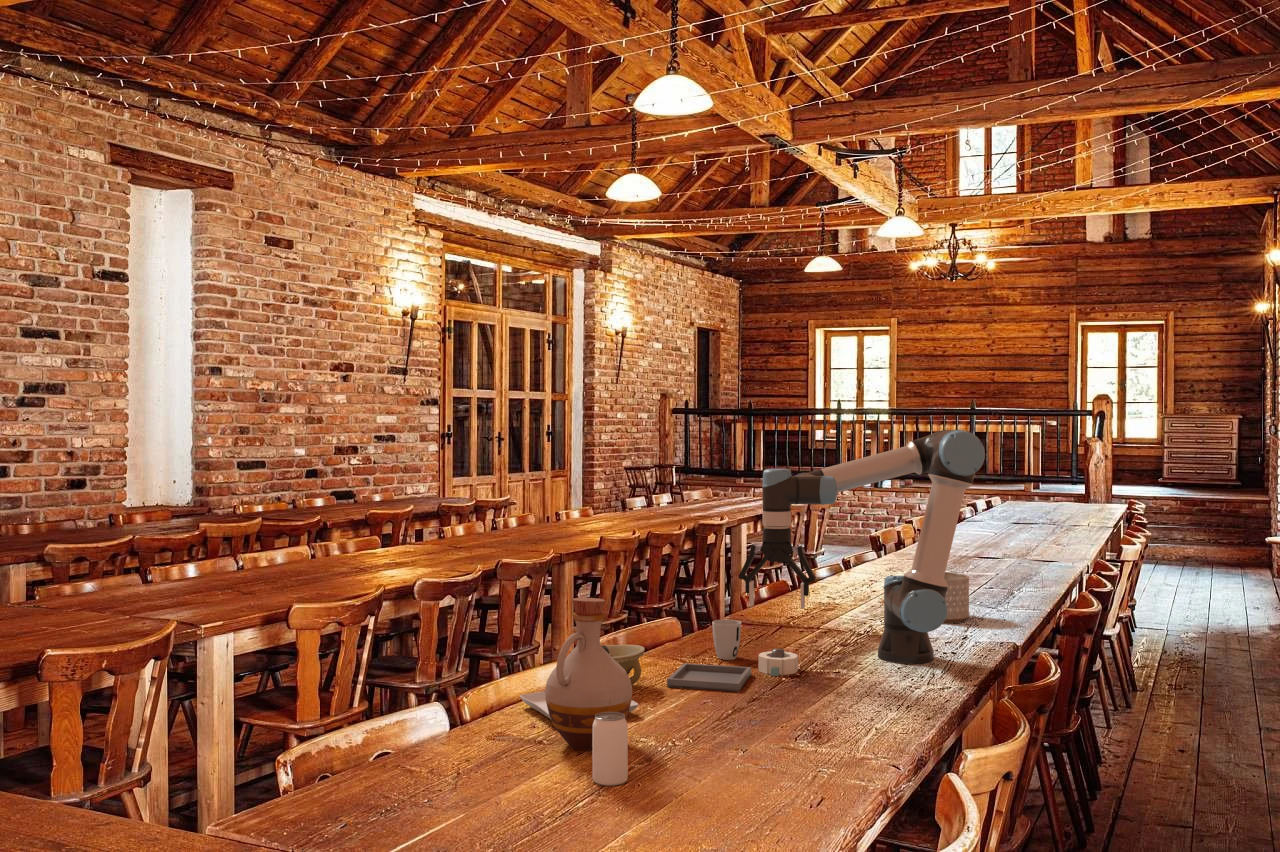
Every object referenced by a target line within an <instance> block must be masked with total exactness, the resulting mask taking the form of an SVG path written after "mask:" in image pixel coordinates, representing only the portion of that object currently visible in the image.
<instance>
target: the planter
mask: <svg viewBox="0 0 1280 852" xmlns="http://www.w3.org/2000/svg"><path fill="white" fill-rule="evenodd" d="M944 579H945V581H946V583H947V585H948V588H947V593H946V597H945V601H946V604H947V616H946V619H945V621H944V622H943V624H945V623H946V624H948V623H950V624H951V623H959V622H962V621H963V620H964V619H967V618H969V617H970V576H969V575H967V574H964V573H959V572H952V571H951V572H949V571H948V572H947V571H945V575H944Z"/></svg>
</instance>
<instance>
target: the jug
mask: <svg viewBox="0 0 1280 852" xmlns="http://www.w3.org/2000/svg"><path fill="white" fill-rule="evenodd" d="M571 601H572V605H573V609H574V612H572V618H573V620H574V621H575V625H576V632H573V633H572V634H570V635H569V636H568V637H567V638H566V640H565V641H564V643H563V644H562V646H561V649H560V651H559V653H558V656H557V659H556V667H555V668H554V669H553V670H552V671H551V673H550V674H549V676H548V677H547V680H546V684H545V689H544V691H545V697H546V703H547V708H548V712H549V715H550V718H551V719H550V718H549V719H550V720H551V723H552V725H553V727H554V728H555V729H556V730H557V733H558V734H559V735H560V736H561V737H562V739H564V741H565V742H566V744H567V745H568V746H569V747H570V748H572V749H574V750H578V751H593V747H592V739H593V722H594V720H595V715H596V714H598V713H602V712H619V713H622V714H624V715H625V720H626V721H627V719H628V715H629V713H630V712H629V709H630V704H631V700H633V699H632V698H633V696H632V695H633V687H632V686H633V684H632V685H631V680H630V676H629V674H628V675H627V673H626V671H625V670H624V669H623V668H622V667H621V666H620V665H619V664H618V663H617V662H616V661H615V660H614V659H613V658H612V657H611V656H610V655H609V654H608V653H607V652H606V651H605V650H604V649H603V648H602V646H603V645H602V644H601V641H600V640H601V629H602V628H601V627H602V622H603V620H604V618H605V612H603V610H604V606H605V603H606V600H605V599H603V598H596V597H575V598H572V600H571ZM576 641H577V642H576ZM574 642H576V646H575V647H574V648H573V650H571V651H570V652H569V650H570V648H571V646H572V645H573V643H574ZM568 652H569V654H568ZM567 654H568V655H567Z"/></svg>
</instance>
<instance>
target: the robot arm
mask: <svg viewBox="0 0 1280 852" xmlns="http://www.w3.org/2000/svg"><path fill="white" fill-rule="evenodd" d="M985 451H986V449H985V447H984V444H983V442H982V441H981V439H980V438H979V437H978V436H976V435H975V434H973V433H972V432H969V431H966V430H964V429H962V430H961V429H942V430H938V431H935V432H933V433H930V434H928V435H926V436H923V437H920V438H917V439H913V440H910V441H908V443H907V444H906V446H901V447H898V448H895V449H890V450H886V451H883V452H879V453H876V454H872V455H868V456H864V457H861V458H857V459H854V460H850V461H847V462H846V461H845V462H843V463H838V464H834V465H831V466H828V467H824V468H821V469H815V470H813V471H810V472H801V473H798V474H797V475H792V471H791V469H789V468H767V469H764V470H763V473H762V485H761V487H762V494H761V495H762V526H764V527H763V528H762V543H761V545H757V544H756V543H753V544H751V545H750V549H749V554H748V557H747V558H746V560H745V563H744V564H743V566H742V568H741V570H740V573H739V574H738V579H739V580H743V581H745V583H744V584H745V591H744V592H745V594H748V596H749V599H748V601H749V603H748V604H749V605H748V606H749V608H751V607H754V606H755V585H754V584H755V580H752V579H753V577H754V576H756V574H757V573H758V572H759V571H760V569H762V567H763V566H764V565H765V563H767V561H768V562H770V563H776V562H777V563H781V564H782V563H785V562H786V564H787V565H788V566H789V567H790V568H791V570H792V571H793V572H794V573H795V574H796V575H797V577H798V578H799V579H800V580H801V581H802V582H801V583H800V610H804V609H805V608H806V597H809V593H810V591H809V590H810V583H812V582H813V583H814V582H815V581H816V579H817V578H816V575H815V573H814V571H813V569H812V567H811V565H810V563H809V560H808V559H807V556H806V555H805V551H804V550H805V549H804V545H802V544H801V545H798V546H793V545H792V529H791V528H790V526H791V525H792V505H822V506H825V505H832V504H835V503H836V501H837V499H838V493H840V492H845V491H850V490H853V489H856V488H860V487H861V488H862V487H863V486H867V485H872V484H875V483H879V482H882V481H887V480H889V479H894V478H898V477H901V476H904V475H905V476H906V475H910V474H913V473H915V474H917V475H923V474H927V476H928V477H929V479H930V481H931V487H930V490H929V495H928V499H927V503H926V507H925V510H924V511H925V512H924V515H923V520H922V524H921V529H920V532H919V536H918V537H919V538H918V541H917V545H916V548H915V553H914V558H913V560H912V561H913V562H912V565H911V569H909V571H907V572H905V573H904V574H903V575H887V576H886V577H885V578H884V584H883V610H884V611H883V613H884V614H883V619H884V620H883V622H884V623H883V625H884V627H883V628H884V629H883V632H882V635H881V638H880V641H879V644H878V647H877V657H878V659H880V660H883V661H886V662H892V663H899V664H925V663H931V662H933V661H934V659H935V658H934V657H935V656H934V655H935V654H934V652H935V651H934V649H933V648H934V647H933V644H932V642H931V640H930V636H929V632H932V631H935V630H937V629H938V628H941V626H942V625H943V624H944V623H943V622H944V621H945V619H946V616H947V604H946V601H945V597H946V593H947V588H948V585H947V583H946V581H945V579H944V575H945V572H947V567H948V562H949V559H950V554H951V549H952V547H953V546H952V545H953V542H954V537H955V533H956V529H957V525H958V520H959V516H960V513H961V508H962V504H963V500H964V495H965V491H967V489H968V488H970V487H972V486H973V485H974V479H975V476H976V472H978V471H979V470H980V469H981V468H982V466H983V465H984V462H985V457H986V453H985ZM759 551H761V553H762V554H763V557H762V558H761V559H760V561H759V562H758V563H757V564H756V565H755V566H754V568H753V569H752V570H751V571H750V572H749V574H747V572H748V570H749V568H750V566H751V564H752V562H753V561H754V558H755V557H756V554H758V553H759ZM792 552H794V553H795V554H796V555H797V556H798V558H799V560H800V562H801V564H802V567H803V568H804V570H805V572H806V574H805V573H804V571H803V570H802V569H801V568H800V567H799V566H798V564H797V563H796V562H795V560H794V559H793V558H792V557H791V555H792ZM807 576H808V577H807Z"/></svg>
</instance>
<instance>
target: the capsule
mask: <svg viewBox="0 0 1280 852" xmlns="http://www.w3.org/2000/svg"><path fill="white" fill-rule="evenodd" d="M771 651H772V657H773V658H784V652H785V649H784V648H772V649H771Z"/></svg>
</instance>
